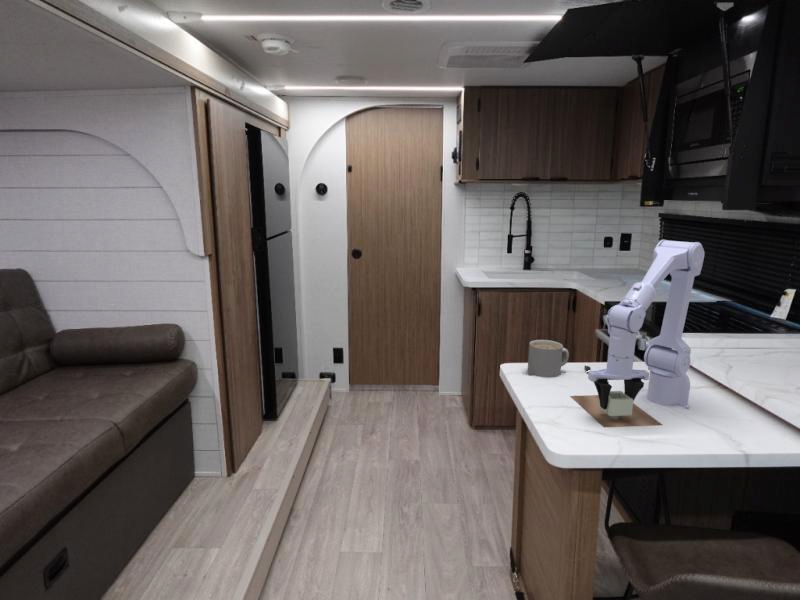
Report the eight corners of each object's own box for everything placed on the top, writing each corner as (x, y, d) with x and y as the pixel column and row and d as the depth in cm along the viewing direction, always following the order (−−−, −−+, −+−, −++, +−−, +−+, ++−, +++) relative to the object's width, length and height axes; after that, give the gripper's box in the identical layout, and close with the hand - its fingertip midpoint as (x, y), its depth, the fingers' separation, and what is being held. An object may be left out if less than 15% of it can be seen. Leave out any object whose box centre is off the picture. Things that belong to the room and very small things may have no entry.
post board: (621, 397, 139) (623, 377, 138) (662, 428, 121) (665, 405, 119) (569, 399, 138) (571, 378, 136) (603, 431, 119) (605, 407, 118)
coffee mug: (535, 381, 151) (537, 349, 149) (522, 370, 161) (524, 340, 159) (576, 379, 153) (579, 348, 151) (561, 368, 163) (564, 339, 161)
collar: (619, 405, 127) (621, 390, 126) (631, 415, 121) (633, 399, 120) (598, 406, 126) (599, 391, 125) (609, 415, 121) (611, 400, 120)
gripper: (639, 349, 125) (634, 399, 128) (584, 350, 124) (579, 401, 126) (656, 358, 118) (650, 411, 121) (598, 359, 117) (593, 413, 120)
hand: (615, 407), depth 123 cm, fingers closed on collar, 6 cm apart
